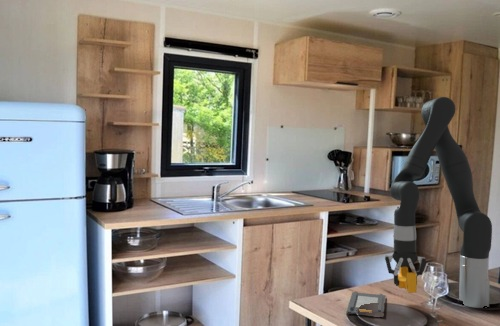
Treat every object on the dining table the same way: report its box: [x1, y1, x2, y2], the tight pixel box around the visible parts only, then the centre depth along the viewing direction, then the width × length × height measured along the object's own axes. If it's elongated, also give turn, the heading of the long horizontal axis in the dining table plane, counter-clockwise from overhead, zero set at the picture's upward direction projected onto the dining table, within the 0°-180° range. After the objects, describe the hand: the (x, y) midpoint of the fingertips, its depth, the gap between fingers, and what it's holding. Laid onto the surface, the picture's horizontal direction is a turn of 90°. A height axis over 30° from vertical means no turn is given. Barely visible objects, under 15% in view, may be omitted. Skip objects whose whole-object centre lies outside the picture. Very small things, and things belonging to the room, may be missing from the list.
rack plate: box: [346, 290, 386, 314], centre depth 164 cm, size 12×22×2 cm, turn 163°
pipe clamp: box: [397, 267, 418, 294], centre depth 165 cm, size 12×4×6 cm, turn 176°
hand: (405, 285), depth 165 cm, fingers closed on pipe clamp, 5 cm apart
